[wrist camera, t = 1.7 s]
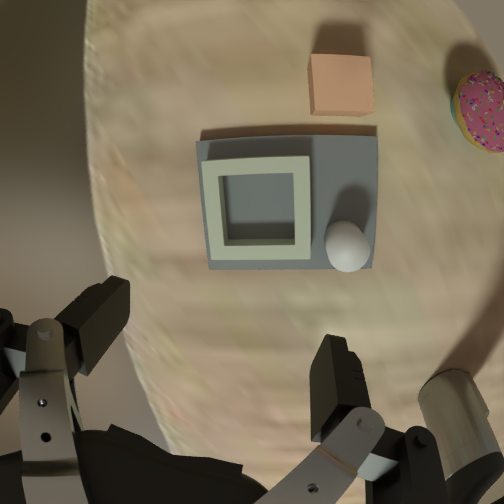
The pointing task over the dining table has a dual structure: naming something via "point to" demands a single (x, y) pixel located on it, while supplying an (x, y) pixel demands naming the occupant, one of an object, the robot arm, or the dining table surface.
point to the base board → (289, 201)
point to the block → (340, 85)
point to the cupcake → (480, 110)
